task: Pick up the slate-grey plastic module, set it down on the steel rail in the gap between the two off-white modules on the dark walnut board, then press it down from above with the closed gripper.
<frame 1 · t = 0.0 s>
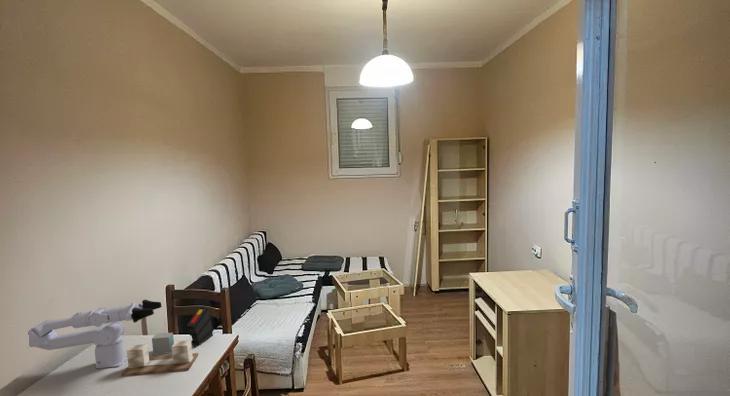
hand: (157, 308, 167), 22 cm above the table, tool horizontal, fingers open, 7 cm apart
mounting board: (161, 365, 164), on the table
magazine: (201, 342, 183), on the table
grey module: (164, 351, 176), on the table
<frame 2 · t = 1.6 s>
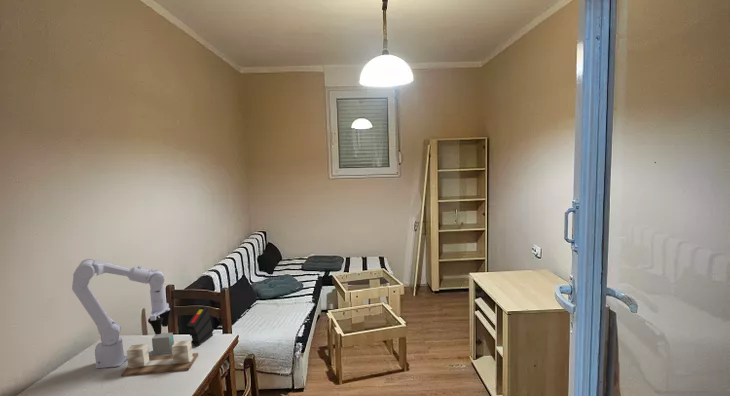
hand: (161, 330, 175), 9 cm above the table, tool pointing down, fingers open, 7 cm apart
nothing on the table moved.
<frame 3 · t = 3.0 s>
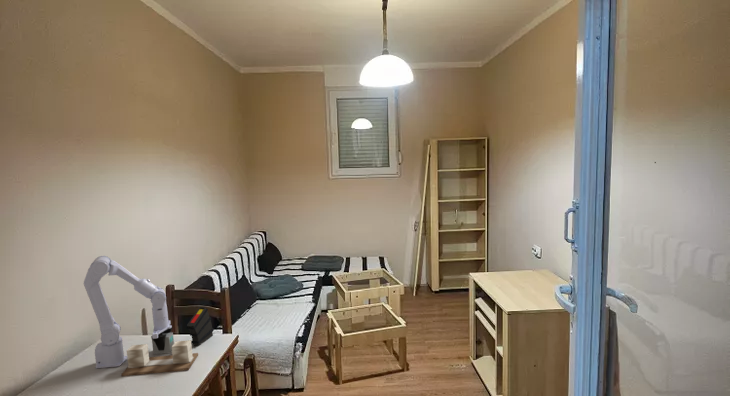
hand: (163, 347, 176), 2 cm above the table, tool pointing down, fingers closed on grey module, 4 cm apart
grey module: (164, 350, 176), on the table, touching gripper
everything else where it was.
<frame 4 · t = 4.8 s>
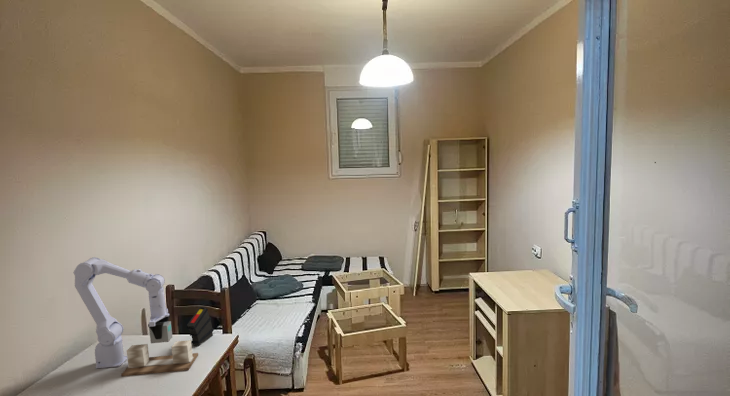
hand: (161, 336, 170), 9 cm above the table, tool pointing down, fingers closed on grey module, 4 cm apart
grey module: (161, 340, 170), point 7 cm above the table, touching gripper
everything else where it was.
when the fingers open (4 cm above the table, at t = 7.0 s): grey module stays where it is, resting on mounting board.
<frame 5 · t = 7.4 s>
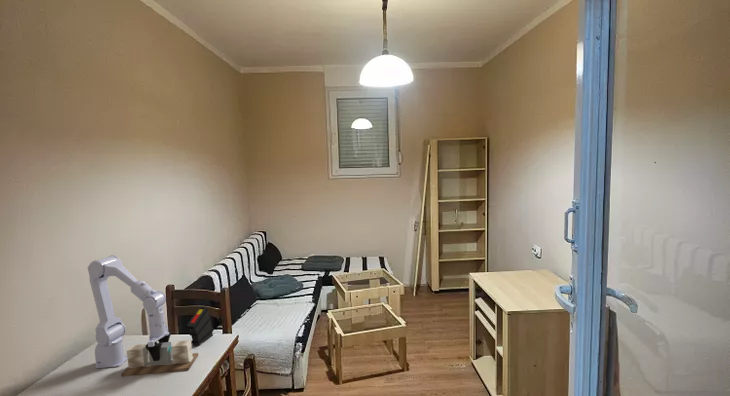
hand: (160, 355, 163), 4 cm above the table, tool pointing down, fingers open, 7 cm apart
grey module: (161, 361, 164), point 1 cm above the table, touching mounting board
everything else where it was.
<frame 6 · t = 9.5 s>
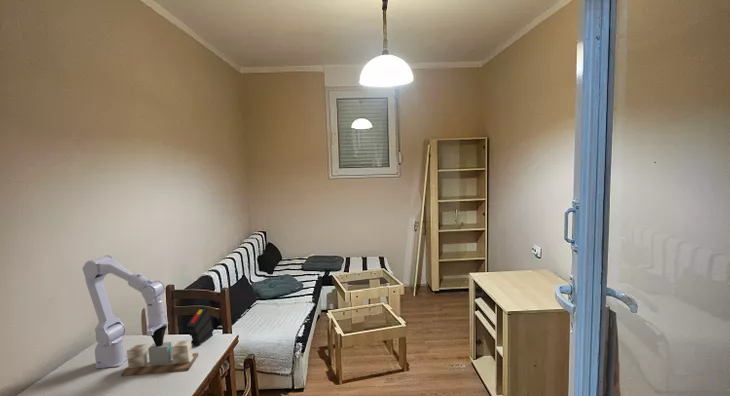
hand: (159, 345, 163), 8 cm above the table, tool pointing down, fingers closed, pressing on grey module
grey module: (161, 361, 164), point 1 cm above the table, touching gripper, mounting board
everything else where it was.
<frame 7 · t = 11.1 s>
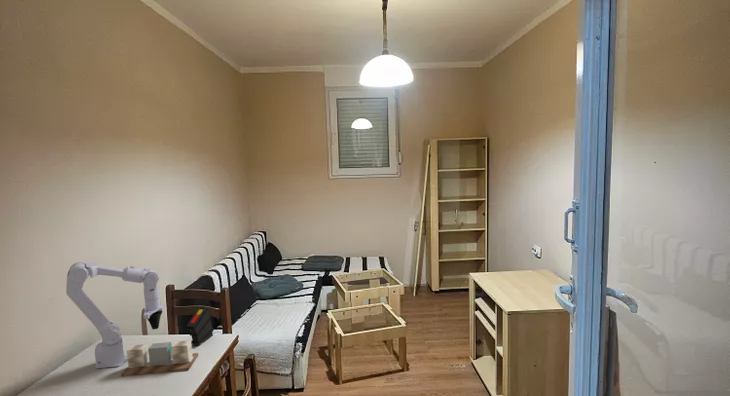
hand: (155, 328, 176), 10 cm above the table, tool pointing down, fingers closed
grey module: (161, 361, 164), point 1 cm above the table, touching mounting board
everything else where it was.
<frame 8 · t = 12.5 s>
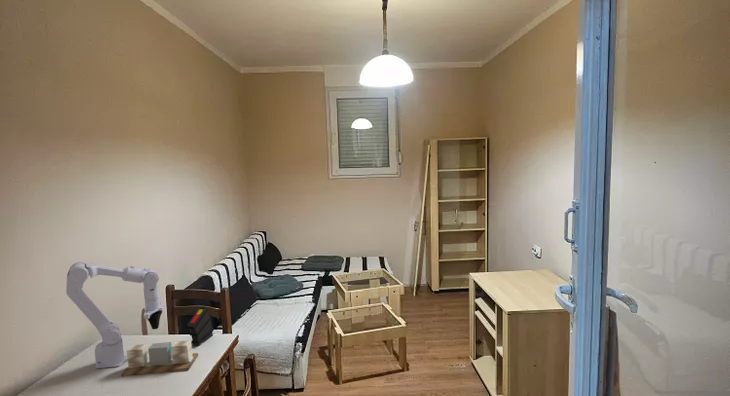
hand: (155, 328, 176), 10 cm above the table, tool pointing down, fingers closed
nothing on the table moved.
at the end: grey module 0.2 cm off-centre on the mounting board, point 1.4 cm above the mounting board's base; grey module tilted 0°; the gripper is holding nothing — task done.
